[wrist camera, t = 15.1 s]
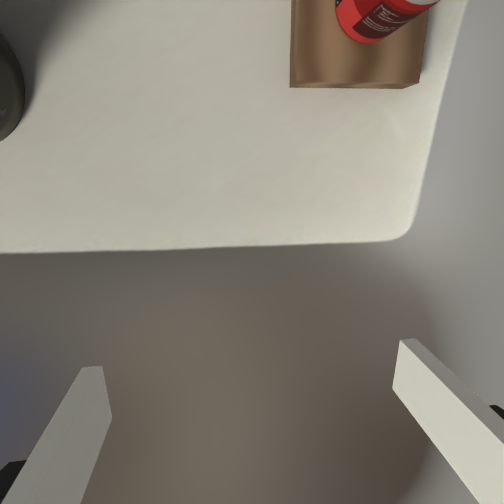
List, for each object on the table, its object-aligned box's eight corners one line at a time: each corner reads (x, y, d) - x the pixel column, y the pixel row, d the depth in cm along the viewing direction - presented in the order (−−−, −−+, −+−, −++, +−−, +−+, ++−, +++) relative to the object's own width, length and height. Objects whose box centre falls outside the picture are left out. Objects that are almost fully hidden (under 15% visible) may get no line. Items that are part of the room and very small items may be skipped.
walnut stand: (289, 87, 39) (296, 81, 36) (293, -63, 35) (301, -86, 31) (402, 88, 41) (418, 82, 37) (419, -55, 36) (440, -76, 33)
